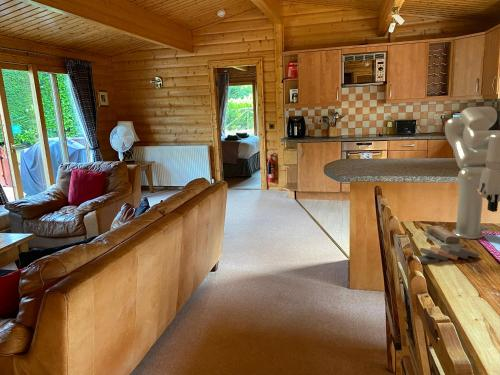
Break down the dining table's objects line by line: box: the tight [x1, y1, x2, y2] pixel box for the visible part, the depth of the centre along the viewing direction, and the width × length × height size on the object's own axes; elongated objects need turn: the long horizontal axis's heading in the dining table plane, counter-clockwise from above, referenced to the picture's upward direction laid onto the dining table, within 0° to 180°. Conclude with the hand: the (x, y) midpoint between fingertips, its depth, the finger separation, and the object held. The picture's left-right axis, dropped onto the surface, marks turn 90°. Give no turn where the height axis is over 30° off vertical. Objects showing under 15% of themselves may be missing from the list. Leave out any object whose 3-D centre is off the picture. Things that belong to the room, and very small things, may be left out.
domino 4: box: [439, 245, 469, 260], centre depth 152 cm, size 2×5×9 cm
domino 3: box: [429, 246, 459, 261], centre depth 151 cm, size 2×5×9 cm
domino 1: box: [416, 254, 440, 265], centre depth 150 cm, size 2×5×9 cm
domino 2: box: [419, 247, 449, 262], centre depth 151 cm, size 2×5×9 cm
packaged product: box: [422, 225, 466, 248], centre depth 172 cm, size 18×5×10 cm
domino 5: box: [449, 245, 480, 259], centre depth 152 cm, size 2×5×9 cm
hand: (492, 210), depth 152 cm, fingers closed
